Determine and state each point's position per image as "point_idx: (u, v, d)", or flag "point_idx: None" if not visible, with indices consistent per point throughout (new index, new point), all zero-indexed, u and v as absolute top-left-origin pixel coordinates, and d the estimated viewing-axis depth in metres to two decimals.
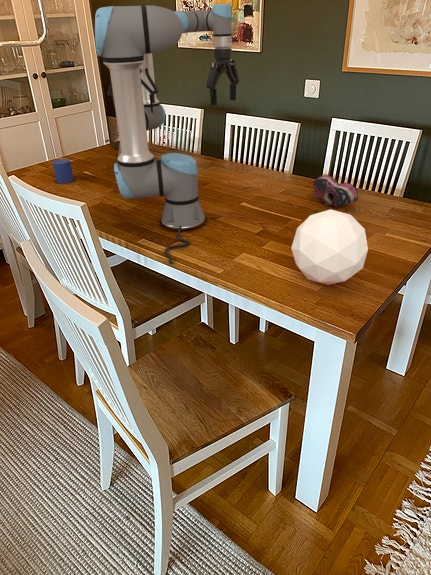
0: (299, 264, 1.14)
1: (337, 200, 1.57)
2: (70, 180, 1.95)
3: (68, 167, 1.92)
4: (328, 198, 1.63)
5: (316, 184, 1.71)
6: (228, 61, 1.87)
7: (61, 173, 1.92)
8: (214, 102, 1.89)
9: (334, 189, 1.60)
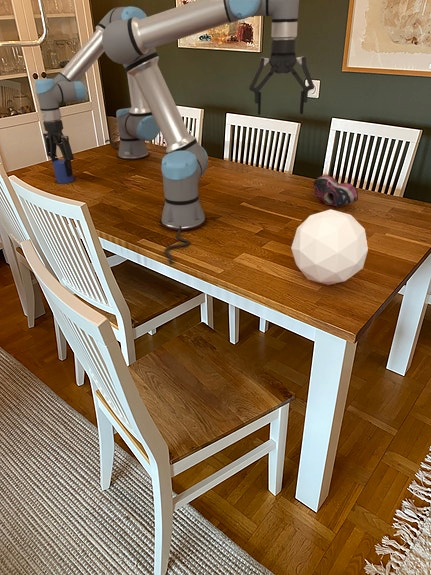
0: (299, 264, 1.14)
1: (337, 200, 1.57)
2: (70, 180, 1.95)
3: None
4: (328, 198, 1.63)
5: (316, 184, 1.71)
6: (56, 133, 1.84)
7: (61, 173, 1.92)
8: None
9: (334, 189, 1.60)
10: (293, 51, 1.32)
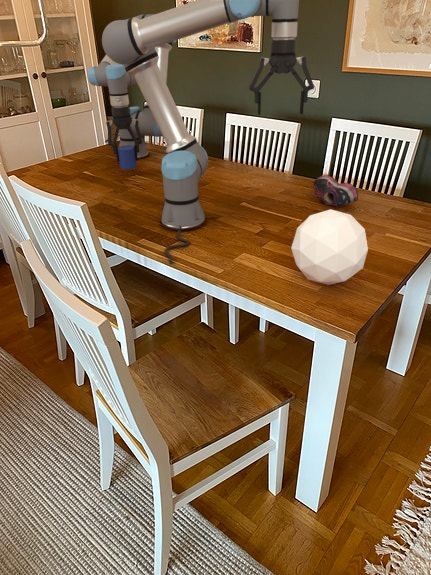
0: (299, 264, 1.14)
1: (337, 200, 1.57)
2: (136, 164, 1.98)
3: None
4: (328, 198, 1.63)
5: (316, 184, 1.71)
6: (128, 118, 1.86)
7: (132, 159, 1.94)
8: (117, 158, 1.95)
9: (334, 189, 1.60)
10: (293, 51, 1.32)
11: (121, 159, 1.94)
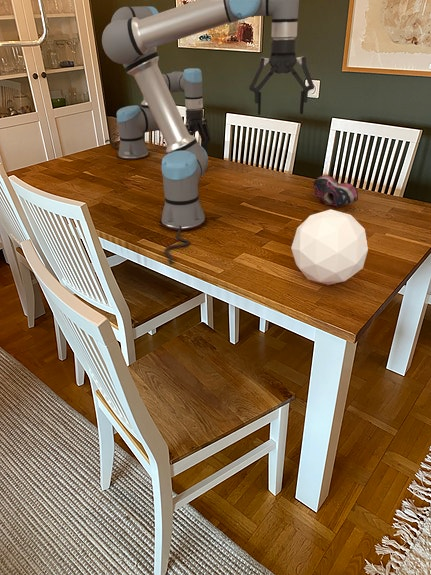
0: (299, 264, 1.14)
1: (337, 200, 1.57)
2: None
3: None
4: (328, 198, 1.63)
5: (316, 184, 1.71)
6: (200, 120, 1.93)
7: None
8: None
9: (334, 189, 1.60)
10: (293, 51, 1.32)
11: None
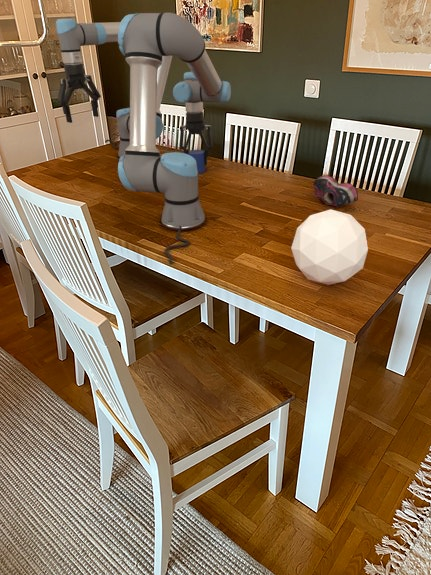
0: (299, 264, 1.14)
1: (337, 200, 1.57)
2: None
3: None
4: (328, 198, 1.63)
5: (316, 184, 1.71)
6: (82, 77, 1.81)
7: None
8: (69, 119, 1.83)
9: (334, 189, 1.60)
10: (201, 120, 1.90)
11: (198, 163, 1.99)
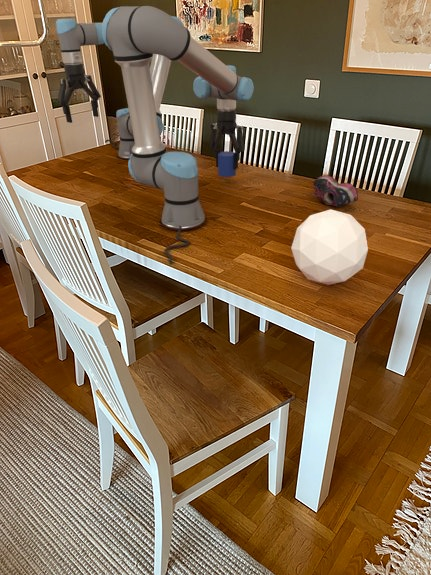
0: (299, 264, 1.14)
1: (337, 200, 1.57)
2: None
3: None
4: (328, 198, 1.63)
5: (316, 184, 1.71)
6: (82, 77, 1.81)
7: None
8: (69, 119, 1.83)
9: (334, 189, 1.60)
10: (230, 120, 1.72)
11: (224, 166, 1.82)
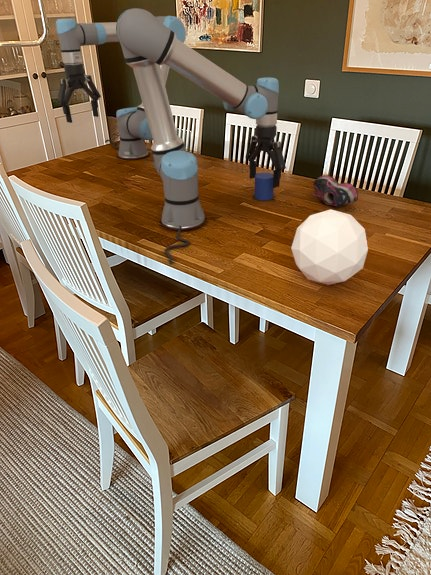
0: (299, 264, 1.14)
1: (337, 200, 1.57)
2: None
3: None
4: (328, 198, 1.63)
5: (316, 184, 1.71)
6: (82, 77, 1.81)
7: (270, 188, 1.69)
8: (69, 119, 1.83)
9: (334, 189, 1.60)
10: (266, 136, 1.58)
11: (258, 189, 1.70)
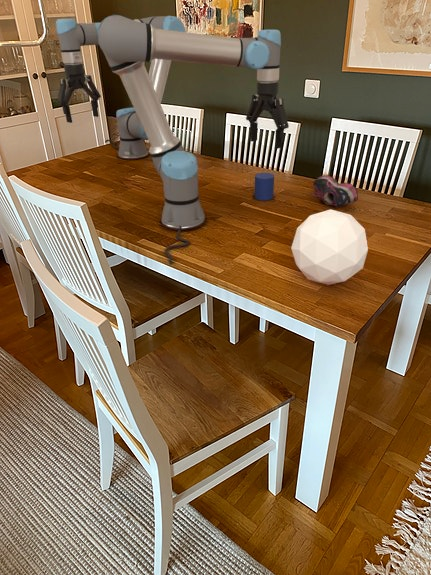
0: (299, 264, 1.14)
1: (337, 200, 1.57)
2: None
3: None
4: (328, 198, 1.63)
5: (316, 184, 1.71)
6: (82, 77, 1.81)
7: (270, 188, 1.69)
8: (69, 119, 1.83)
9: (334, 189, 1.60)
10: (268, 93, 1.50)
11: (258, 189, 1.70)
